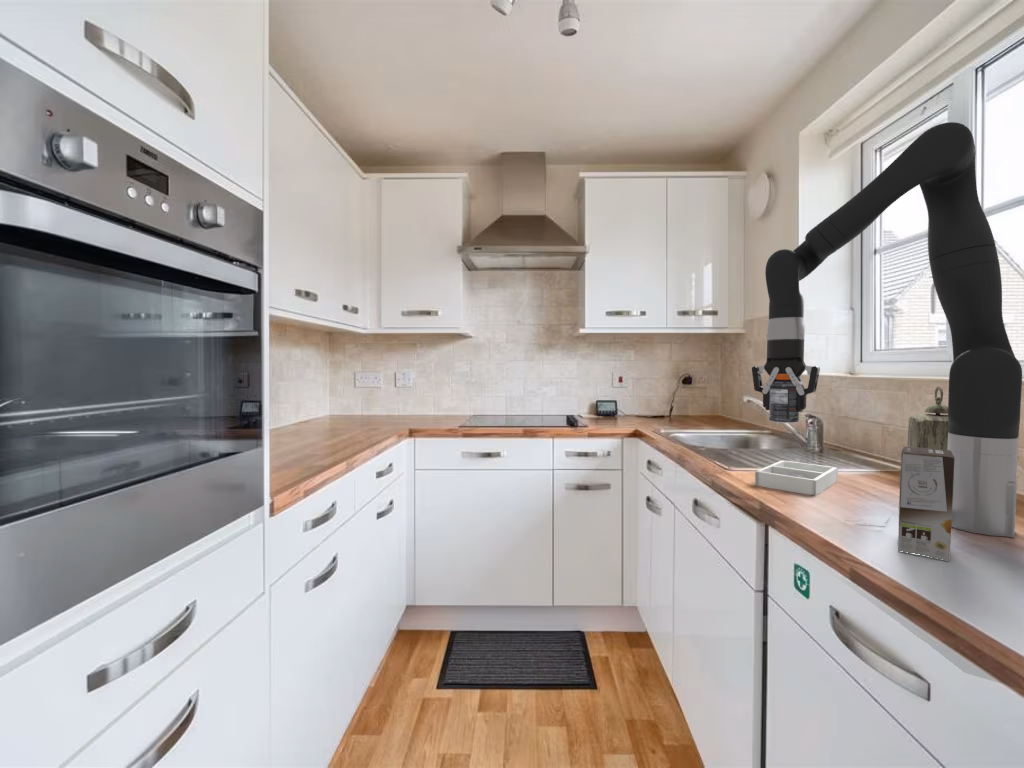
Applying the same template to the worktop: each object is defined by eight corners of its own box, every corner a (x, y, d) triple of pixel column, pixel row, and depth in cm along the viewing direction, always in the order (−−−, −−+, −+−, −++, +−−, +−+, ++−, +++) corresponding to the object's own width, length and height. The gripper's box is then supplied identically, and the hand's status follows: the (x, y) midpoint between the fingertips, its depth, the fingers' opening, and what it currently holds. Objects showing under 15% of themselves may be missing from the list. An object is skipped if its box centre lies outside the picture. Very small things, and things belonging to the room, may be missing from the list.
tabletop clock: (964, 492, 115) (969, 388, 114) (915, 487, 119) (919, 386, 118) (949, 480, 127) (953, 386, 126) (905, 476, 132) (909, 385, 131)
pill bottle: (790, 420, 115) (791, 373, 114) (803, 423, 109) (805, 373, 108) (764, 420, 115) (765, 373, 115) (776, 423, 109) (777, 373, 109)
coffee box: (951, 563, 72) (956, 457, 72) (897, 552, 76) (901, 452, 76) (947, 545, 80) (951, 449, 79) (897, 536, 84) (901, 445, 83)
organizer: (837, 485, 120) (837, 467, 120) (815, 500, 106) (816, 480, 106) (781, 476, 129) (782, 460, 129) (754, 490, 115) (755, 471, 115)
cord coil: (808, 486, 114) (809, 475, 114) (801, 490, 110) (802, 479, 110) (781, 481, 118) (781, 471, 118) (773, 485, 114) (773, 475, 114)
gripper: (825, 338, 109) (823, 411, 110) (757, 340, 119) (755, 408, 119) (817, 336, 104) (815, 414, 104) (747, 338, 114) (745, 409, 114)
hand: (783, 410), depth 112 cm, fingers closed on pill bottle, 6 cm apart
